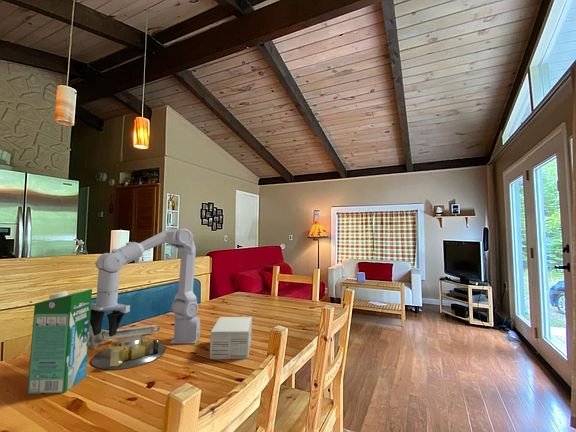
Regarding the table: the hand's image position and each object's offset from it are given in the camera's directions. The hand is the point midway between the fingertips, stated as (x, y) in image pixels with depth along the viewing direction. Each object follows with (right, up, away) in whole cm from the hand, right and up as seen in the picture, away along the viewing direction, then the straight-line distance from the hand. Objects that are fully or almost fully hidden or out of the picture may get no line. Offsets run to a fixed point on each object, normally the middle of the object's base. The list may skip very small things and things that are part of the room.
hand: (104, 334), depth 88 cm
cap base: (+4, -10, +8) cm, 13 cm away
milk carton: (-5, -9, -12) cm, 15 cm away
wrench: (-7, -11, +20) cm, 24 cm away
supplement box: (+37, -12, +14) cm, 42 cm away
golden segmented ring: (+4, -9, +6) cm, 12 cm away
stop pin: (+12, -10, +8) cm, 18 cm away
